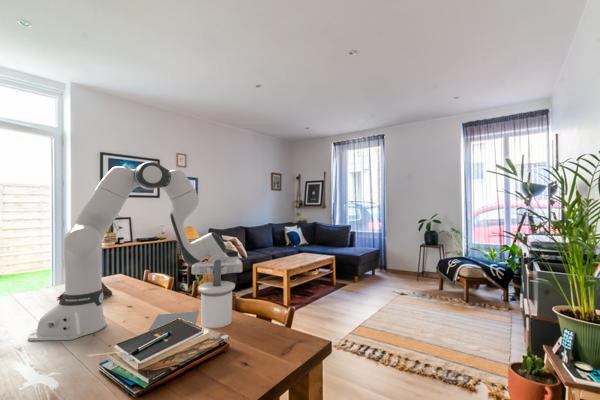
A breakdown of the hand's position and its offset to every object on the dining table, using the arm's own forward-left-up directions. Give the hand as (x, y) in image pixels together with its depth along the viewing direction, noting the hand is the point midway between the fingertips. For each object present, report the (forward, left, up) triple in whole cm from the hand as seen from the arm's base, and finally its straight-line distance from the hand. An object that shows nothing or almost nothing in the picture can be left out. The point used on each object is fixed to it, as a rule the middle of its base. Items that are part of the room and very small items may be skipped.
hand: (216, 271), depth 116 cm
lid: (0, +1, -7) cm, 7 cm away
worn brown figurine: (-58, +46, -20) cm, 77 cm away
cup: (0, +1, -20) cm, 20 cm away
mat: (-16, +6, -20) cm, 26 cm away
